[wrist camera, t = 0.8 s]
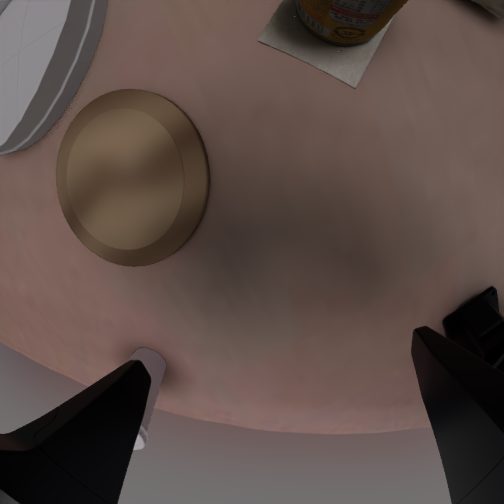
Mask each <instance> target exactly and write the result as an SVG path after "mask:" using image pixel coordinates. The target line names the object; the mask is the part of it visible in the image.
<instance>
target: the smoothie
mask: <svg viewBox="0 0 504 504" xmlns="http://www.w3.org/2000/svg"><path fill="white" fill-rule="evenodd" d="M129 360H140V361H142V362H143V364H144V366H145V367H146V369H147V371H148V373H149V374H150V376H151V386H150V390H149V395H148V399H147V404H146V409H145V413H144V417H143V420H142V424H141V427H140V430H139V433H138V436H137V439H136V442H135V445H134V449H133V450H139V449H142V448H144V446H145V444H146V442H147V441H148V434H147V429H148V426H149V422H150V419H151V415H152V412H153V409H154V406H155V402H156V399H157V396H158V392H159V389H160V386H161V383H162V380H163V376H164V373H165V370H166V363H165V361H164V359H163V358H162V357H161V356H160V355H159V354H158V353H157V352H155V351H153V350H151V349H148V348H139V349H137V350H136V351H135V352H134V354H133V355H132V356H131V357H130V358H129V359H128V360H127V361H126V362H128V361H129ZM126 362H125V363H126ZM125 363H124V364H125Z"/></svg>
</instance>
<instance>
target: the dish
mask: <svg viewBox="0 0 504 504" xmlns="http://www.w3.org/2000/svg"><path fill="white" fill-rule="evenodd" d="M106 11H107V0H0V155H2V154H6V153H10V152H14V151H18V150H22V149H27V148H28V147H29V146H31V145H32V144H34V143H35V142H37V141H38V140H40V139H41V138H43V136H44V135H45V134H46V133H47V132H48V131H49V130H50V128H51V127H52V126H53V125H54V124H55V123H56V122H57V121H58V120H59V119H60V117H61V116H62V114H63V112H64V111H65V109H66V108H67V106H68V105H69V103H70V102H71V100H72V99H73V97H74V96H75V94H76V93H77V91H78V88H79V86H80V84H81V82H82V80H83V78H84V76H85V74H86V72H87V70H88V68H89V66H90V64H91V62H92V59H93V56H94V53H95V50H96V48H97V45H98V42H99V40H100V37H101V34H102V31H103V25H104V20H105V15H106Z"/></svg>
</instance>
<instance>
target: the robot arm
mask: <svg viewBox="0 0 504 504" xmlns="http://www.w3.org/2000/svg"><path fill="white" fill-rule="evenodd" d="M443 326H444V330H445V334H446V337H444V336H443V335H441V334H439V333H438V332H436V331H434V330H433V329H431V328H429V327H427V326H423V327H419V328H416V329H414V331H413V338H412V347H411V354H412V359H413V362H414V366H415V370H416V374H417V378H418V383H419V387H420V391H421V395H422V399H423V402H424V405H425V408H426V411H427V414H428V417H429V420H430V423H431V426H432V429H433V432H434V435H435V438H436V442H437V446H438V449H439V452H440V456H441V460H442V464H443V467H444V471H445V475H446V479H447V484H448V488H449V492H450V497H451V502H452V504H504V317H503V316H502V315H501V314H500V313H499V306H498V296H497V290H496V288H494V287H491V288H489V289H488V290H487V291H485V292H484V293H482V294H481V295H480V296H478V297H477V298H475V299H474V300H472V301H471V302H470V303H468V304H467V305H465V306H464V307H462V308H461V309H459V310H458V311H456V312H454V313H453V314H451V315H450V316H448V317H447V318H445V319H444V321H443ZM150 386H151V376H150V374H149V373H148V371H147V369H146V367H145V366H144V364H143V362H142V361H140V360H129V361H128V362H126V363H125V364H123V365H122V366H120V367H119V368H117V369H116V370H114V371H113V372H111V373H109V374H108V375H106V376H105V377H103V378H102V379H100V380H99V381H97V382H96V383H94V384H93V385H91V386H89V387H88V388H86V389H85V390H83V391H82V392H80V393H79V394H77V395H75V396H74V397H73V398H71V399H69V400H68V401H66V402H64V403H63V404H61V405H60V406H58V407H56V408H55V409H53V410H52V411H50V412H48V413H47V414H45V415H44V416H42V417H40V418H38V419H36V420H34V421H32V422H31V423H29V424H27V425H25V426H23V427H21V428H19V429H17V430H15V431H13V432H10V433H7V434H0V504H118V500H119V496H120V492H121V489H122V486H123V482H124V479H125V475H126V472H127V468H128V465H129V462H130V458H131V455H132V452H133V449H134V445H135V442H136V439H137V436H138V433H139V430H140V427H141V424H142V420H143V417H144V413H145V409H146V404H147V399H148V395H149V390H150Z"/></svg>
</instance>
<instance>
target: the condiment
mask: <svg viewBox="0 0 504 504" xmlns="http://www.w3.org/2000/svg"><path fill="white" fill-rule="evenodd" d="M407 1H408V0H283V1H282V3H281V4H280V5H279V7H278V9H277V10H276V12H275V13H274V15H273V17H272V18H271V20H270V21H269V23H268V24H267V26H266V27H265V29H264V30H263V32H262V34H261V35H260V37H259V39H258V41H260V42H262V43H265V44H268V45H270V46H271V47H274V48H276V49H279V50H281V51H283V52H285V53H288V54H290V55H292V56H294V57H296V58H298V59H300V60H302V61H305V62H307V63H309V64H311V65H313V66H315V67H316V68H319V69H321V70H323V71H325V72H327V73H329V74H330V75H332V76H334V77H336V78H337V79H339V80H341V81H343V82H345V83H347V84H349V85H350V86H352V87H354V88H356V87H357V85H358V83H359V81H360V79H361V78H362V76H363V74H364V72H365V70H366V68H367V66H368V65H369V62H370V61H371V59H372V57H373V55H374V53H375V51H376V50H377V48H378V46H379V44H380V42H381V40H382V38H383V36H384V34H385V32H386V30H387V29H388V27H389V25H390V23H391V21H392V19H393V17H394V15H395V14H396V13H397V12H398V11H399V9H400V8H402V7H403V5H404V4H406V2H407ZM294 16H296V17H294ZM343 48H345V49H346V50H344V51H343V50H342V49H343ZM337 50H341V52H339V53H338V52H336V51H337Z"/></svg>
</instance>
